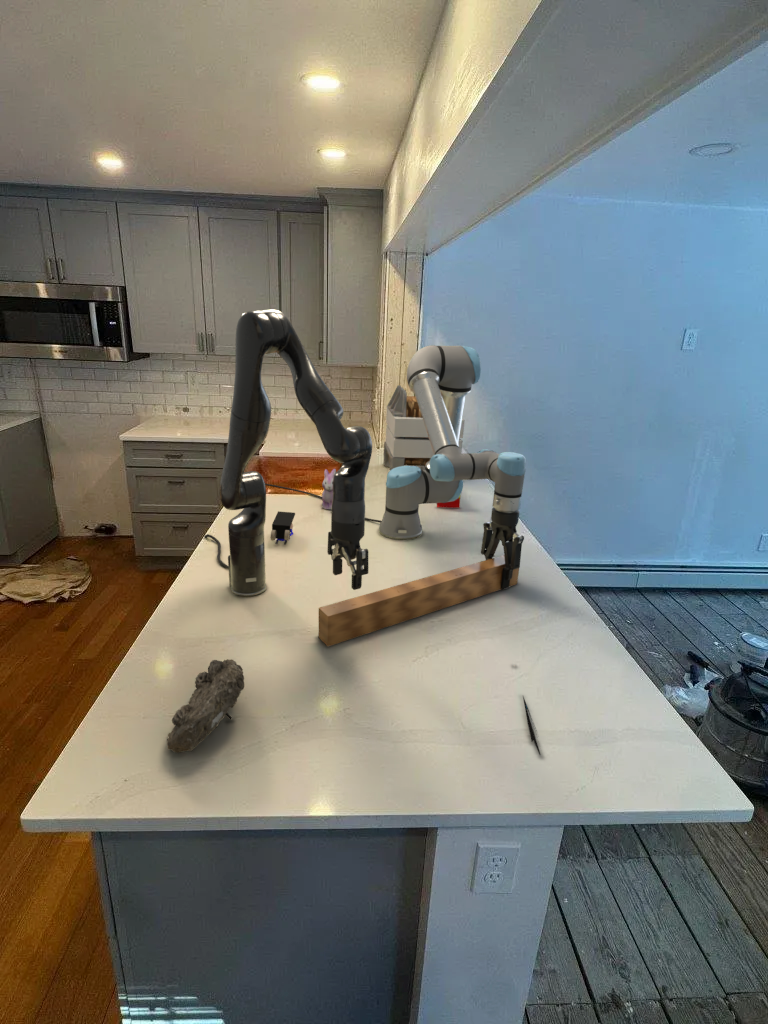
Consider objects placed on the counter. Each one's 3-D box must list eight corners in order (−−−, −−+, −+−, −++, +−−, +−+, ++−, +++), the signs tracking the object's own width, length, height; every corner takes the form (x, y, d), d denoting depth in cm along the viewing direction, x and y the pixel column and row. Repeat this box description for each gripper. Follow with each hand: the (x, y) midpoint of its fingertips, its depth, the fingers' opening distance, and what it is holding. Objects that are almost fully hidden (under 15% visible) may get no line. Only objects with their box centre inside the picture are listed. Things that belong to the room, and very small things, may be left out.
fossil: (192, 660, 117) (244, 628, 112) (224, 691, 120) (276, 661, 115) (142, 746, 98) (202, 712, 93) (182, 779, 101) (242, 748, 96)
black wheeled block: (290, 551, 185) (296, 529, 198) (289, 530, 182) (295, 510, 195) (270, 550, 185) (277, 528, 198) (268, 530, 181) (276, 509, 195)
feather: (514, 670, 128) (520, 664, 128) (540, 759, 101) (547, 752, 101) (508, 666, 128) (514, 660, 127) (532, 755, 101) (539, 747, 101)
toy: (454, 466, 253) (465, 475, 223) (452, 495, 255) (463, 509, 226) (427, 465, 252) (435, 474, 223) (425, 494, 255) (433, 508, 226)
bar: (505, 577, 170) (508, 553, 168) (517, 584, 167) (520, 559, 164) (318, 637, 136) (318, 607, 133) (327, 646, 132) (328, 616, 129)
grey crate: (382, 463, 289) (386, 382, 275) (445, 464, 293) (451, 384, 279) (390, 482, 257) (394, 392, 243) (460, 483, 261) (468, 394, 247)
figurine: (325, 511, 218) (326, 473, 213) (316, 503, 226) (316, 467, 221) (348, 508, 222) (349, 471, 217) (337, 500, 231) (338, 465, 225)
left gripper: (318, 509, 130) (317, 573, 136) (350, 529, 119) (348, 597, 125) (346, 504, 134) (344, 566, 140) (379, 523, 123) (377, 589, 129)
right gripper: (472, 501, 162) (465, 574, 170) (522, 521, 148) (511, 600, 156) (491, 497, 166) (483, 568, 174) (541, 516, 152) (530, 593, 160)
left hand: (346, 581), depth 132 cm, fingers open, 8 cm apart
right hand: (496, 583), depth 165 cm, fingers open, 6 cm apart
